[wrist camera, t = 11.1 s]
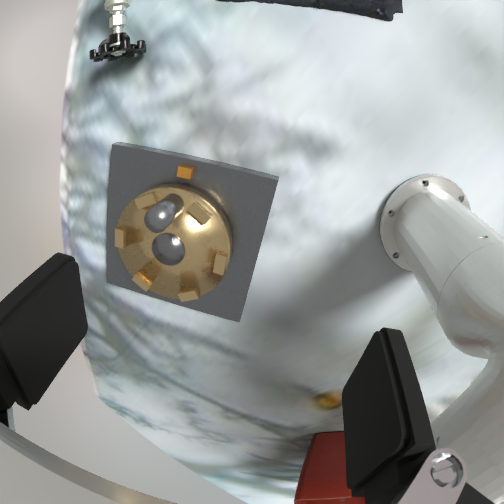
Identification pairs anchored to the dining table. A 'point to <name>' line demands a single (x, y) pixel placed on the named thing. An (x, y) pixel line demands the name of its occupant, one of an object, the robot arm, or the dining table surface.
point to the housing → (215, 187)
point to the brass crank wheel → (174, 241)
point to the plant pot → (325, 473)
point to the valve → (117, 35)
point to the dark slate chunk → (346, 6)
